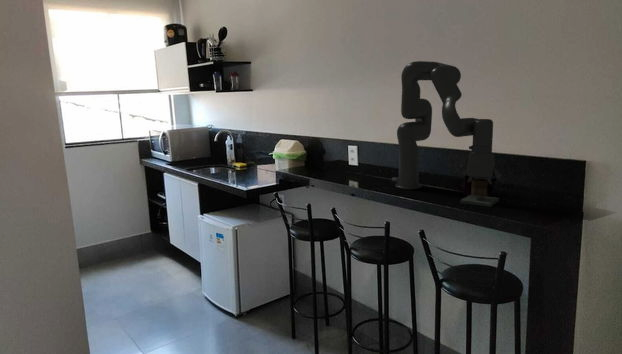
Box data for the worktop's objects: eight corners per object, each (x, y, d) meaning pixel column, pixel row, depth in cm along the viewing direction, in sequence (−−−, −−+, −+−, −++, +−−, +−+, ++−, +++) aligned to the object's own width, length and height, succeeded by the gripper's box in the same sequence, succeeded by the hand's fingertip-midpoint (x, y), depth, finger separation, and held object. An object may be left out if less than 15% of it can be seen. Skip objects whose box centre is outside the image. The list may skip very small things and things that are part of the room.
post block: (460, 202, 183) (461, 183, 181) (470, 197, 192) (471, 178, 191) (490, 206, 176) (491, 186, 174) (499, 200, 185) (500, 181, 183)
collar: (469, 194, 183) (469, 180, 182) (474, 191, 188) (475, 177, 187) (485, 196, 179) (486, 182, 177) (490, 193, 184) (491, 179, 182)
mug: (472, 197, 192) (473, 182, 190) (454, 193, 200) (455, 178, 199) (482, 195, 195) (483, 180, 194) (464, 191, 203) (465, 176, 202)
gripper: (457, 149, 182) (456, 191, 186) (501, 151, 171) (499, 196, 175) (464, 147, 188) (462, 188, 191) (507, 149, 177) (504, 192, 181)
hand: (480, 191), depth 183 cm, fingers closed on collar, 6 cm apart
